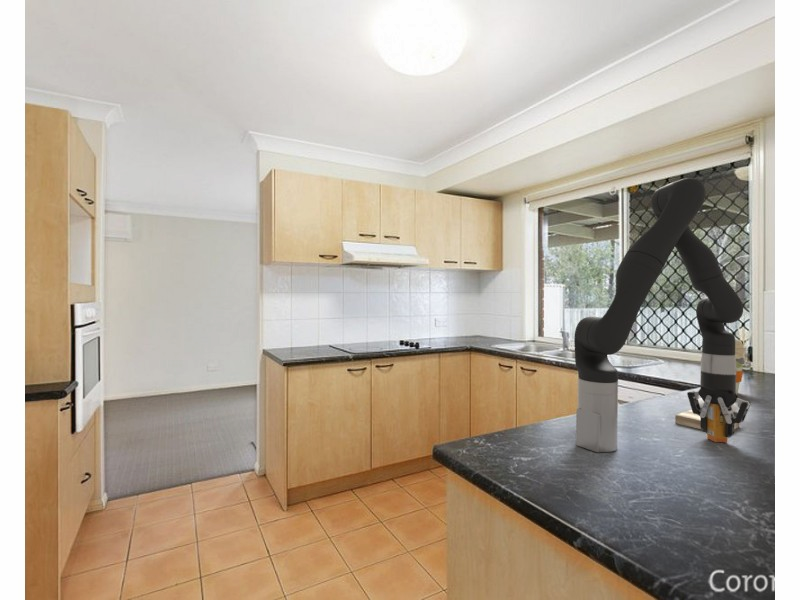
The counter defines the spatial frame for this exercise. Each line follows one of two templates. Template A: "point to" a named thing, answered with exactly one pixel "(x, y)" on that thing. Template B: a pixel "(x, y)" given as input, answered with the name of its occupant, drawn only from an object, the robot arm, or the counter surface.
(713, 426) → the supplement box
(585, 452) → the counter surface
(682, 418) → the birch base
